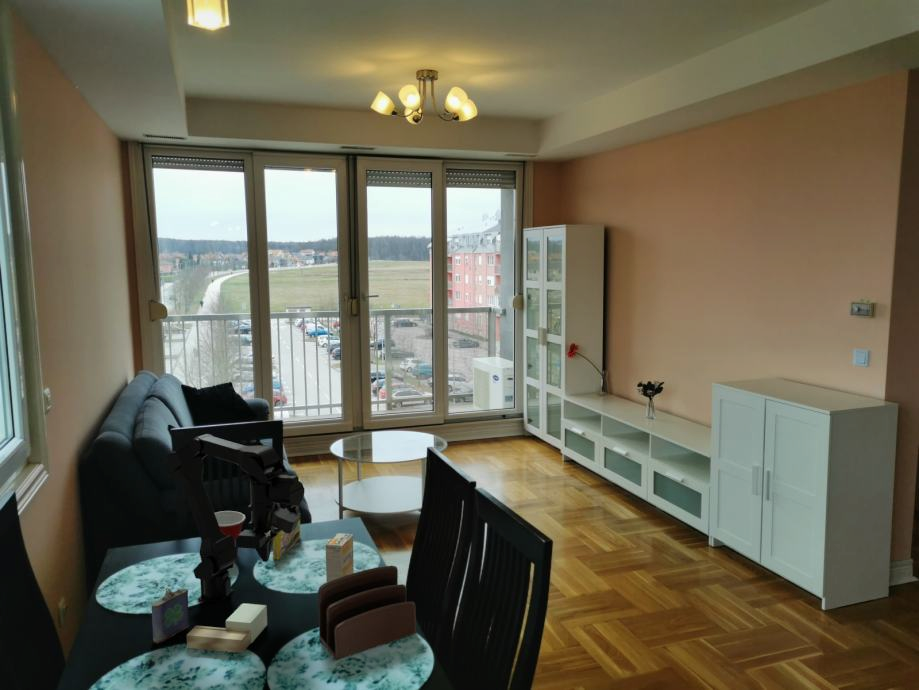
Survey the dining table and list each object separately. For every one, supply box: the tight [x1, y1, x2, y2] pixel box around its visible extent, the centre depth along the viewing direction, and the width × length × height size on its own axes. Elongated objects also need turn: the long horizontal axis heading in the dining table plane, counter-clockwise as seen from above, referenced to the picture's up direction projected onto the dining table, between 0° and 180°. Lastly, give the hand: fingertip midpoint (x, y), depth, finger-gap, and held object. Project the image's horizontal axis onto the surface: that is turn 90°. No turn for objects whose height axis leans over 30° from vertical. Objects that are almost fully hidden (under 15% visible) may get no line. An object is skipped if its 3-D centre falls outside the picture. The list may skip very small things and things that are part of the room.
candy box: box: [272, 519, 301, 560], centre depth 202 cm, size 16×2×8 cm, turn 171°
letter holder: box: [317, 565, 417, 661], centre depth 154 cm, size 10×20×14 cm, turn 122°
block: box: [225, 603, 268, 644], centre depth 156 cm, size 6×8×5 cm
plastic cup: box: [214, 510, 246, 554], centre depth 197 cm, size 11×11×12 cm
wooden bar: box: [186, 625, 252, 654], centre depth 151 cm, size 13×4×3 cm, turn 81°
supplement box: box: [325, 532, 355, 583], centre depth 178 cm, size 8×5×13 cm, turn 168°
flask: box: [150, 587, 190, 644], centre depth 155 cm, size 9×3×11 cm, turn 151°
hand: (265, 561), depth 165 cm, fingers closed
